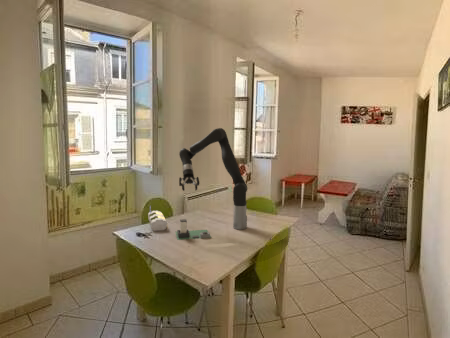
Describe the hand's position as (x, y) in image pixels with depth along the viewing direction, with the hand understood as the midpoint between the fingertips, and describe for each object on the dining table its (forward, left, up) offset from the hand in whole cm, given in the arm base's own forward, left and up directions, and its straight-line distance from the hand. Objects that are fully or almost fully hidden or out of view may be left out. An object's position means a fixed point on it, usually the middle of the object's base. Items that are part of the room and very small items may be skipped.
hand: (190, 190), depth 220 cm
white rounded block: (+22, -15, -29) cm, 40 cm away
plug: (+6, +16, -27) cm, 32 cm away
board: (0, +15, -29) cm, 32 cm away
